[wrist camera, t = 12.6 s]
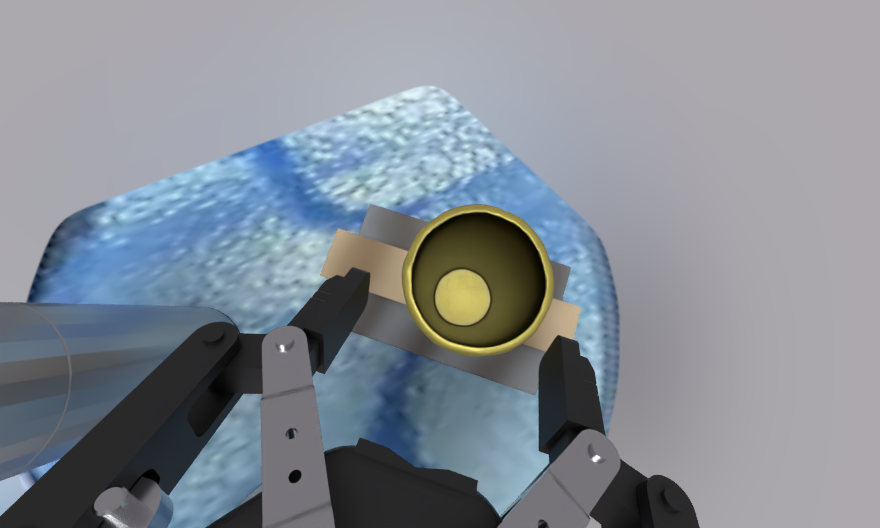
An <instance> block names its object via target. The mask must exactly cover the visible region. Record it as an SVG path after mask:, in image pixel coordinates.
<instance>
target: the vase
mask: <svg viewBox="0 0 880 528" xmlns="http://www.w3.org/2000/svg"><path fill="white" fill-rule="evenodd" d="M401 277H402V287H403V292H404V297H405V301H406V305H407V308H408V310H409V313H410V315H411V317H412V319H413V320H414V322H415V323H416V325H417V326H418V327H419V328H420V329H421V331H422V332H423V333H424V334H425V335H426V336H427V337H428V338H429V339H430V340H431V341H432V342H433V343H435V344H436V345H438V346H439V347H441V348H444V349H446V350H449V351H451V352H454V353H458V354H461V355H465V356H471V357H479V356H489V355H496V354H502V353H505V352H508V351H510V350H512V349H514V348H516V347H518V346H519V345H521V344H522V343H523V342H525V341H526V340H527V339H529V338H530V337H531V336H532V335H533V334H534V333H535V332H536V331H537V329H538V328H539V327H540V325H541V323H542V321H543V320H544V318H545V316H546V314H547V312H548V310H549V308H550V305H551V302H552V299H553V292H554V276H553V270H552V267H551V263H550V260H549V257H548V254H547V251H546V249H545V246H544V244H543V243H542V241H541V239H540V238H539V237H538V235H537V234H536V233H535V232H534V230H533V229H532V228H531V227H530V226H529V225H528V224H527V223H526V222H525V221H524V220H522V219H521V218H520V217H518V216H516V215H514V214H512V213H509V212H507V211H504V210H502V209H499V208H497V207H493V206H489V205H481V204H475V205H466V206H460V207H457V208H453V209H450V210H448V211H446V212H444V213H442V214H441V215H439V216H438V217H436V218H435V219H433V220H432V221H431V222H429V223H428V224H427V225H426V226H425V227H423V228H422V229H421V230H420V232H419V233H418V234H417V235H416V237H415V239H414V241H413V242H412V244H411V246H410V249H409V251H408V253H407V255H406V257H405V259H404V262H403V267H402V275H401Z"/></svg>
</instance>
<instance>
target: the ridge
mask: <svg viewBox="0 0 880 528" xmlns="http://www.w3.org/2000/svg"><path fill="white" fill-rule="evenodd" d="M428 223H429V222H426V221H423V220H420V219H417V218H414V217H410V216H407V215H404V214H401V213H398V212H395V211H391V210H388V209H385V208H382V207H379V206H376V205H372V204H370V206H369V208H368V211H367V214H366V216H365V219H364V222H363V224H362V227H361V230H360V232H359V235H357V234H354V233H350V232H347V231H344V230H341V229H338V230H337V233H336V236H335V238H334V241H333V243H332V246H331V248H330V251H329V254H328V256H327V259H326V261H325V264H324V267H323V269H322V272H321V274H320V276H323V277H326V278H329V279H330V278H332V277H333V276H335V275H339V276H342V277H344V276H345V275H346V274H347V273H348V271H349V270H350V269H351V268H352V267H355V268H358V269H361V270H364V271H367V272H370V285H369V296H368V301H367V305H366V307H365V310H364V312H363V313H362V315H361V316H360V318H359V320H358V321H357V323H356V324H355V326H354V328H353V329H352V331H351V332H354V333H357V334H360V335H363V336H366V337H369V338H372V339H374V340H377V341H380V342H383V343H386V344H389V345H392V346H394V347H397V348H400V349H403V350H406V351H409V352H412V353H415V354H417V355H420V356H423V357H426V358H429V359H432V360H435V361H438V362H440V363H443V364H446V365H449V366H452V367H455V368H458V369H460V370H463V371H466V372H469V373H472V374H475V375H478V376H481V377H483V378H486V379H489V380H492V381H495V382H498V383H501V384H503V385H506V386H509V387H512V388H515V389H518V390H521V391H524V392H526V393H529V394H532V395H536V391H537V388H538V384H539V377H538V372H539V365H540V362H541V359H542V357H543V355H544V354H545V352H546V351H547V349H548V348H549V346H550V345H551V343H552V342H553V340H554V339H555V337H556V336H557V335H560V336H563V337H566V338H569V339H572V340H573V338H574V334H575V330H576V326H577V323H578V319H579V315H580V312H581V308H582V307H578V306H575V305H572V304H569V303H566V302H563V301H562V298H563V294H564V291H565V287H566V283H567V280H568V276H569V273H570V269H571V267H569V266H565V265H562V264H559V263H556V262H553V261H550V263H551V267H552V270H553V276H554V292H553V299H552V302H551V305H550V308H549V310H548V312H547V314H546V316H545V318H544V320H543V321H542V323H541V325H540V327H539V328H538V329H537V331H536V332H535V333H534V334H533V335H532V336H531V337H530V338H529V339H527V340H526V341H525V342H523V343H522V344H521V345H519V346H518V347H516V348H514V349H512V350H510V351H508V352H505V353H502V354H496V355H489V356H479V357H471V356H465V355H461V354H458V353H454V352H451V351H449V350H446V349H444V348H441V347H439V346H438V345H436V344H435V343H433V342H432V341H431V340H430V339H429V338H428V337H427V336H426V335H425V334H424V333H423V332H422V331H421V329H420V328H419V327H418V326H417V325H416V323H415V322H414V320H413V319H412V317H411V315H410V313H409V310H408V308H407V305H406V301H405V297H404V292H403V287H402V277H401V275H402V267H403V262H404V259H405V257H406V255H407V253H408V251H409V249H410V246H411V244H412V242H413V241H414V239H415V237H416V235H417V234H418V233H419V232H420V230H421V229H422V228H423V227H425V226H426V225H427V224H428Z"/></svg>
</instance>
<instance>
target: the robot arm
mask: <svg viewBox="0 0 880 528" xmlns="http://www.w3.org/2000/svg"><path fill="white" fill-rule="evenodd" d="M369 285H370V272H367V271H364V270H361V269H358V268H355V267H352V268H351V269H350V270H349V271H348V273H347V274H346V275H345V276H344V277H342V276H339V275H335V276H333V277H332V278H330V279H328V280H326V281H325V282H324V283H323V284H322V286H321V287H320V288H319V289H318V291H316V293H315V294H314V295H313V297H312V298H310V300H309V301H308V302H307V303H306V304H305V305H304V307H303V308H302V309H301V310H300V311H299V312H298V314H297V315H296V316H295V317H294V318H293V319H292V321H291V322H290V323H289V324H288V325H287V326H283V327H279V328H276V329H274V330H272V331H271V332H269V333H268V334H243V333H239V332H238V330H237V328H236V327H235V325H234V324H233V322H232V321H231V320H230V319H229V318H228V317H227V316H225V315H224V314H222V313H221V312H219V311H216V310H214V309H211V308H204V307H177V306H143V305H101V304H59V303H17V302H16V303H13V302H0V481H2V480H4V479H7V478H10V477H13V476H15V475H18V474H21V473H23V472H26V471H29V470H31V469H34V468H37V467H39V466H42V465H45V464H47V463H50V462H53V461H55V460H58V459H60V460H59V461H58V462H57V463H56V464H55V465H54V466H53V467H52V468H51V469H50V470H48V471H47V472H46V473H45V474H44V475H43V476H42V477H41V478H40V479H39V480H38V481H37V482H36V483H35V484H34V485H33V486H32V487H31V488H30V489H29V490H28V491H26V492H25V493H24V494H23V495H22V496H21V497H20V498H19V499H18V500H17V501H16V502H15V503H14V504H13V505H12V506H11V507H10V508H9V509H8V510H7V511H5V513H3V514H2V515H1V516H0V528H167V527H168V525H169V523H170V521H171V519H172V515H173V503H172V500H171V499H170V497H169V496H168V495H169V494H170V493H171V491H172V490H173V489H174V487H175V486H176V484H177V483H178V482H179V480H180V479H181V478H182V476H183V475H184V474H185V472H186V471H187V470H188V468H189V467H190V465H191V464H192V463H193V461H194V460H195V459H196V457H197V456H198V455H199V453H200V452H201V451H202V449H203V448H204V446H205V445H206V444H207V442H208V441H209V440H210V438H211V437H212V436H213V434H214V433H215V431H216V430H217V429H218V427H219V426H220V425H221V423H222V422H223V421H224V419H225V418H226V417H227V415H228V414H229V412H230V411H231V410H232V408H233V407H234V406H235V404H236V403H237V402H238V400H239V399H240V398H241V396H242V395H243V393H244V394H263V398H262V399H261V452H262V491H261V492H260V493H258V494H257V495H255V496H254V497H252V498H251V499H249V500H248V501H246V502H244V503H243V504H241V505H240V506H238V507H237V508H235V509H234V510H232V511H230V512H229V513H227V514H226V515H224V516H223V517H221V518H220V519H218V520H217V521H215V522H213V523H212V524H210V525H209V526H207V527H206V528H586V527H587V525H588V523H589V521H590V518H589V515H590V516H591V517H592V518H594V519H595V520H596V521H598V522H599V523H600V524H601V526H602V528H700V527H699V524H698V520H697V517H696V513H695V510H694V507H693V505H692V503H691V501H690V499H689V498H688V496H687V495H686V494H685V492H684V491H683V490H682V489H681V488H680V487H679V486H678V485H677V484H676V483H675V482H674V481H672V480H671V479H669V478H667V477H665V476H662V475H654V476H651V477H650V478H647V477H645V476H644V475H642V474H641V473H639V472H638V471H637V470H635V469H634V468H632V467H631V466H629V465H628V464H626V463H625V462H624V461H622V460H621V459H620V457H619V454H618V452H617V449H616V448H615V447H614V445H613V443H612V442H611V441H610V440H609V439H608V438H607V437H606V435H605V431H604V425H603V419H602V413H601V407H600V401H599V396H598V390H597V386H596V378H595V372H594V369H593V368H592V366H591V364H590V362H589V360H588V359H587V358H585V357H582V356H580V350H579V343H578V342H577V341H575V340H572V339H569V338H566V337H563V336H560V335H557V336H556V337H555V339H554V340H553V342H552V343H551V345H550V346H549V348H548V349H547V351H546V352H545V354H544V355H543V357H542V359H541V362H540V365H539V372H538V377H539V451H540V452H543V453H546V454H549V464H548V465H547V466H546V467H545V468H544V469H543V470H542V471H541V472H540V474H539V475H538V476H537V477H536V478H535V479H534V480H533V481H532V482H531V484H530V485H529V486H528V487H527V488H526V489H525V490H524V491H523V492H522V493H521V495H520V496H519V497H518V498H517V499H516V500H515V501H514V502H513V503H512V504H511V505H510V506H509V507H508V508H507V509H506V511H505V512H504V513H503V514H502V515H501V516H499V515H498V513H497V512H496V510H495V509H494V507H493V506H492V505H491V503H490V502H489V501H488V500H487V499H486V498H485V497H484V496H483V495H482V494H481V493H479V492H478V491H477V482H478V480H475V479H472V478H469V477H467V476H464V475H461V474H458V473H456V472H453V471H450V470H444V469H428V468H416V467H414V466H412V465H411V464H410V463H408V462H407V461H406V460H404V459H403V458H401V457H400V456H399V455H397V454H396V453H395V452H393V451H392V450H390V449H389V448H387V447H384V446H382V445H379V444H376V443H374V442H371V441H368V440H365V439H363V438H359V441H358V443H357V445H356V446H341V447H336V448H333V449H330V450H327V451H325V452H324V451H323V444H322V437H321V430H320V423H319V416H318V409H317V402H316V395H315V389H314V386H313V380H312V377H313V375H314V374H315V372H316V371H317V372H320V373H323V374H325V372H326V371H327V369H328V368H329V366H330V364H331V363H332V361H333V360H334V358H335V356H336V355H337V353H338V352H339V350H340V348H341V347H342V345H343V344H344V342H345V340H346V339H347V337H348V336H349V334H350V332H351V331H352V329H353V328H354V326H355V324H356V323H357V321H358V320H359V318H360V316H361V315H362V313H363V312H364V310H365V307H366V305H367V301H368V296H369Z"/></svg>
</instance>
